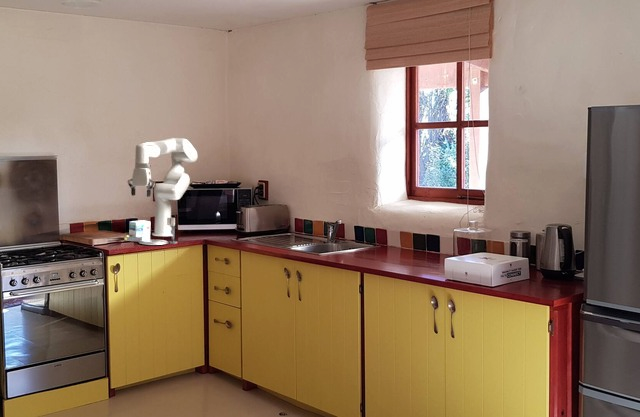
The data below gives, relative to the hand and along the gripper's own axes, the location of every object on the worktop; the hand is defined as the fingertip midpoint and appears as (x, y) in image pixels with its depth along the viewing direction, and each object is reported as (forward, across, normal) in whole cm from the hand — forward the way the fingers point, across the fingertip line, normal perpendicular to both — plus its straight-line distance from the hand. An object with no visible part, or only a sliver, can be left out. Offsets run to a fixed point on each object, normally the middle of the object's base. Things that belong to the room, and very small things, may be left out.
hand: (140, 196), depth 431 cm
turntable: (+26, -8, +8) cm, 28 cm away
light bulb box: (+26, +1, -2) cm, 26 cm away
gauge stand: (+26, -22, +1) cm, 34 cm away
